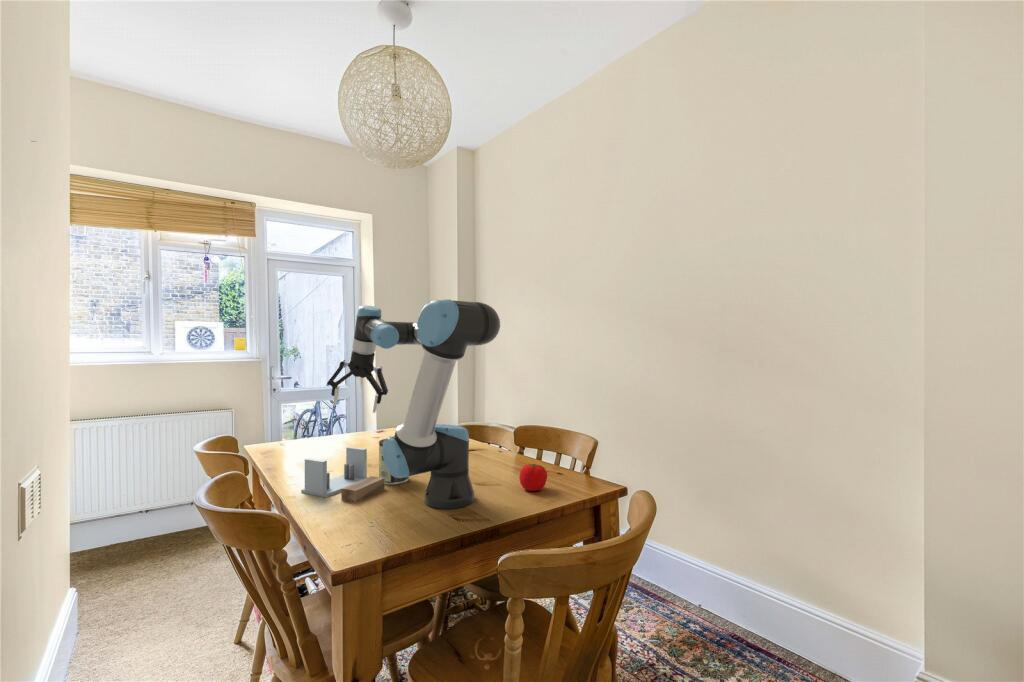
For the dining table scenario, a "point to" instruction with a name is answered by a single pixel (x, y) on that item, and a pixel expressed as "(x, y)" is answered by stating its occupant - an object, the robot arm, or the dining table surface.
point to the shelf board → (362, 489)
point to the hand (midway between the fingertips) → (354, 407)
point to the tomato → (533, 477)
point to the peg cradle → (325, 487)
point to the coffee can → (384, 472)
